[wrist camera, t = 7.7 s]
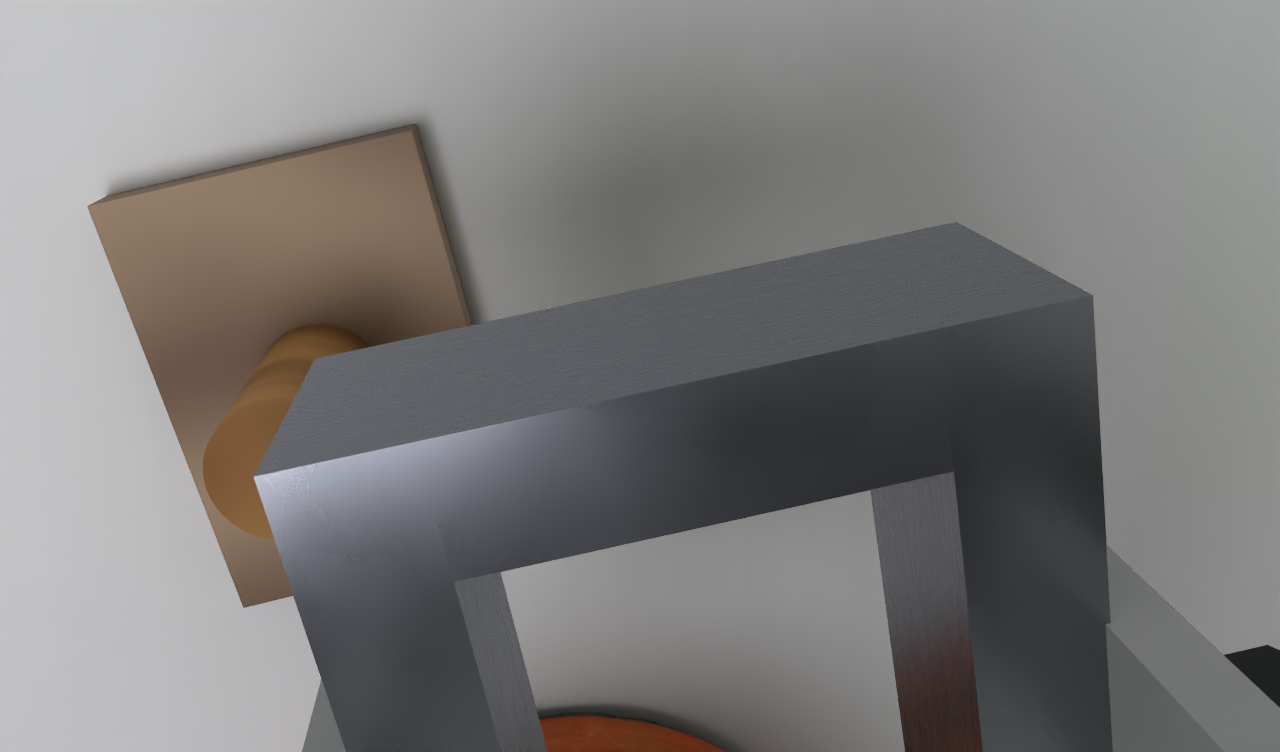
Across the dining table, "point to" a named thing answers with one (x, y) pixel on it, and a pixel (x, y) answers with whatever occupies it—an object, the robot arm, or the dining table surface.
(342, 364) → the grey rectangular frame
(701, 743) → the beer stein
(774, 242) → the dining table surface
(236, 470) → the keeper
